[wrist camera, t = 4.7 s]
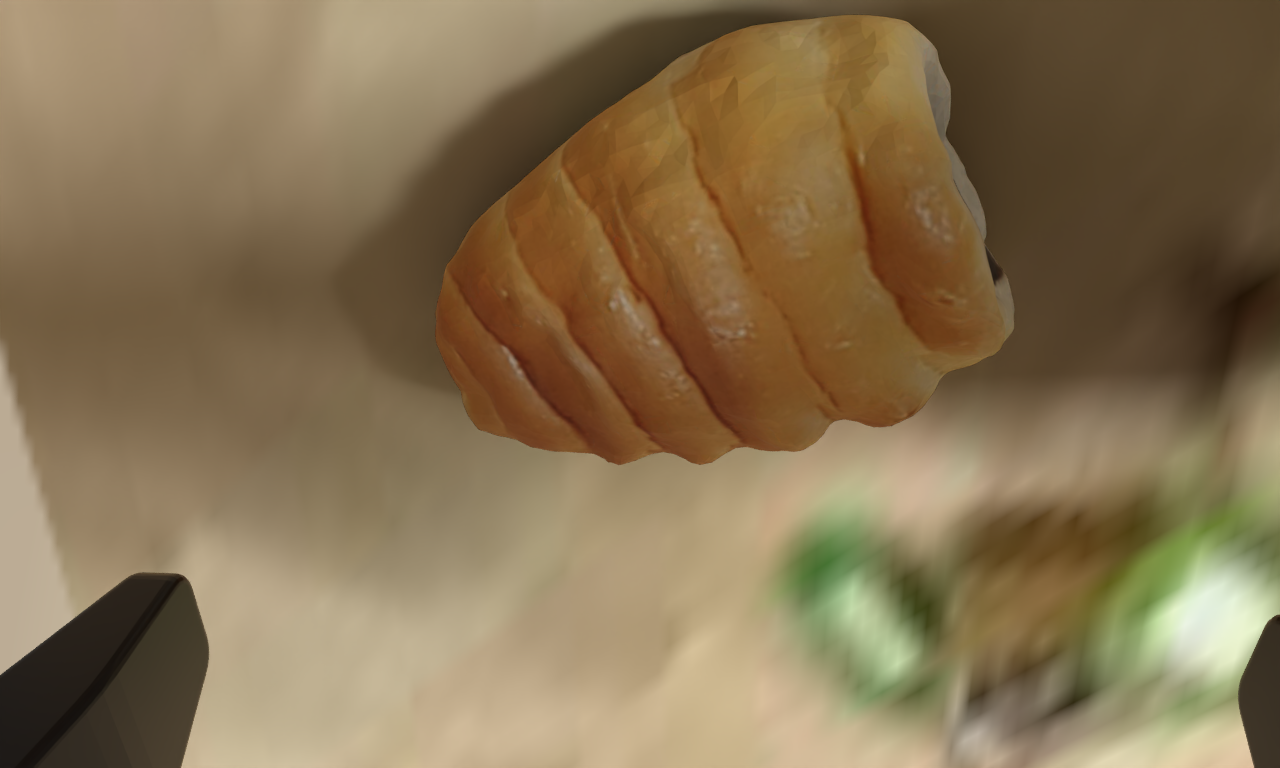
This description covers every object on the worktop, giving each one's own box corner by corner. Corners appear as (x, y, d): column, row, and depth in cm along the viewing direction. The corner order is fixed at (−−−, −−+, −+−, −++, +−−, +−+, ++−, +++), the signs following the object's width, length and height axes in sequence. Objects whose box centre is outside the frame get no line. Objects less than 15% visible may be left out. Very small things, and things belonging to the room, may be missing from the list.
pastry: (560, 460, 23) (538, 606, 20) (358, 188, 20) (294, 315, 16) (1027, 284, 20) (1084, 424, 17) (889, -75, 17) (929, 20, 14)
